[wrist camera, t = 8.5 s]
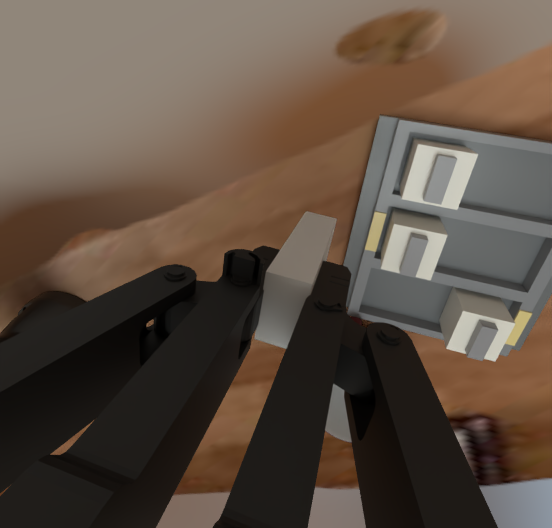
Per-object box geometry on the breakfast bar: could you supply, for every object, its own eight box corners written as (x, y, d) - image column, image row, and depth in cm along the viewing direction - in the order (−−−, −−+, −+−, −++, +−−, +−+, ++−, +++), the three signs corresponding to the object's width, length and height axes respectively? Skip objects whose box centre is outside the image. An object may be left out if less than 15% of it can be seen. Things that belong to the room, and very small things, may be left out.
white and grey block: (399, 185, 31) (402, 202, 26) (413, 137, 29) (419, 145, 24) (447, 194, 30) (459, 214, 25) (465, 145, 28) (481, 156, 24)
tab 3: (439, 320, 35) (448, 356, 30) (453, 285, 33) (465, 317, 28) (482, 330, 34) (498, 369, 30) (499, 295, 33) (519, 330, 28)
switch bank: (336, 294, 39) (331, 312, 36) (380, 114, 31) (379, 116, 28) (512, 338, 36) (525, 362, 33) (614, 151, 28) (645, 158, 24)
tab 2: (380, 248, 34) (380, 274, 29) (392, 207, 32) (394, 228, 27) (424, 258, 33) (432, 286, 28) (439, 217, 31) (450, 239, 26)
